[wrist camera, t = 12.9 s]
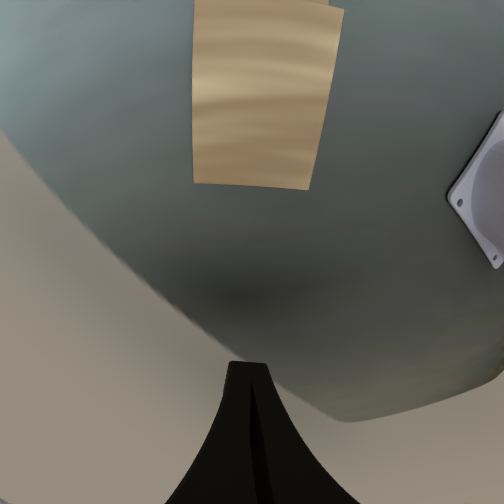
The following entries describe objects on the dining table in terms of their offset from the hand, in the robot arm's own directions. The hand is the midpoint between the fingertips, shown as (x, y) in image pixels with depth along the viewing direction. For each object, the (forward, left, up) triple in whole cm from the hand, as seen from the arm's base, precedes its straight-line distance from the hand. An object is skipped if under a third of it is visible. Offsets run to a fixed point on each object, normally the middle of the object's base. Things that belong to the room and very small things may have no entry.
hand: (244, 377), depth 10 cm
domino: (+3, -5, -6) cm, 9 cm away
